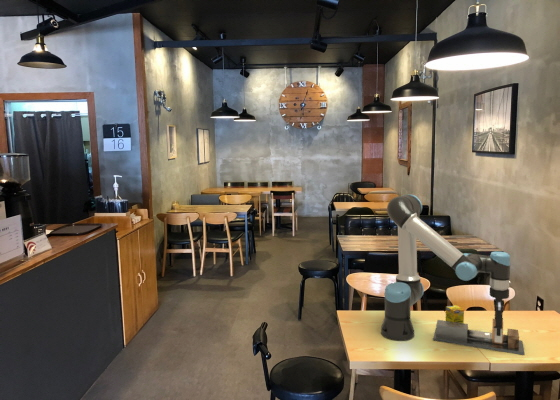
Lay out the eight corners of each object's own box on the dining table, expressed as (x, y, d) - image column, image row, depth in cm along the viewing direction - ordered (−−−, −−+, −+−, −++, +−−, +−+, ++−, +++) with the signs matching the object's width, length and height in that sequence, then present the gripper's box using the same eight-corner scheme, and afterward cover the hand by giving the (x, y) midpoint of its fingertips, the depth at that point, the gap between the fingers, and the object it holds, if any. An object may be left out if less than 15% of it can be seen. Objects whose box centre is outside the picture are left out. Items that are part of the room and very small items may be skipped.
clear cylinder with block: (462, 338, 189) (462, 318, 188) (462, 334, 192) (463, 314, 191) (513, 346, 180) (513, 324, 179) (512, 342, 184) (513, 321, 183)
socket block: (508, 347, 179) (508, 335, 179) (507, 340, 186) (507, 328, 186) (518, 349, 178) (519, 337, 177) (517, 341, 185) (517, 329, 184)
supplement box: (453, 333, 198) (453, 310, 197) (445, 328, 204) (445, 306, 202) (463, 331, 200) (464, 309, 198) (455, 326, 205) (455, 304, 204)
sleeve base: (433, 340, 191) (433, 326, 190) (435, 330, 201) (436, 317, 201) (524, 355, 175) (525, 340, 174) (522, 343, 186) (522, 329, 185)
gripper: (510, 296, 171) (508, 349, 173) (508, 281, 189) (506, 330, 192) (489, 294, 174) (488, 346, 177) (489, 280, 193) (488, 327, 195)
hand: (497, 338), depth 184 cm, fingers open, 8 cm apart
